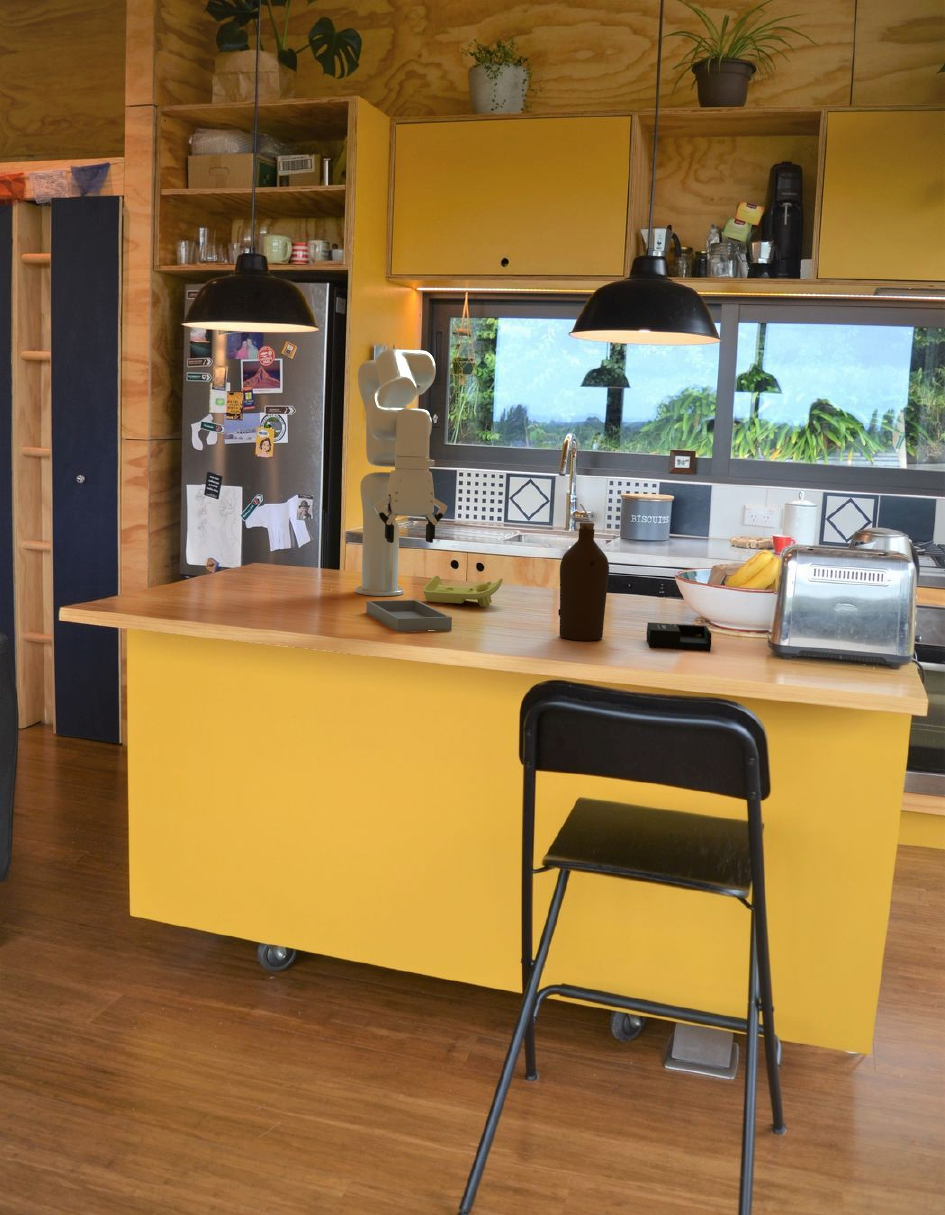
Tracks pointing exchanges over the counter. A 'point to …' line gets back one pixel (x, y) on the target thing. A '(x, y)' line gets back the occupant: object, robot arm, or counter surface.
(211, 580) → the counter surface
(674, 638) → the battery charger
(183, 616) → the counter surface
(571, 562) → the olive oil
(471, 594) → the plastic component
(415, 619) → the tray
